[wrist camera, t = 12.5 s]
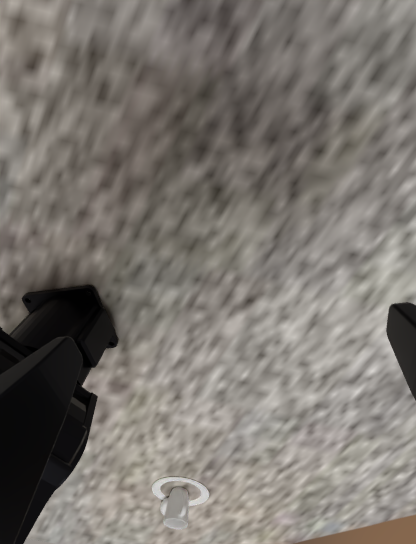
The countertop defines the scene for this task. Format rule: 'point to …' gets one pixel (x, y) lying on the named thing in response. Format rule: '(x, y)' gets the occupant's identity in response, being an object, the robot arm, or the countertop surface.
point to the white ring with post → (178, 502)
